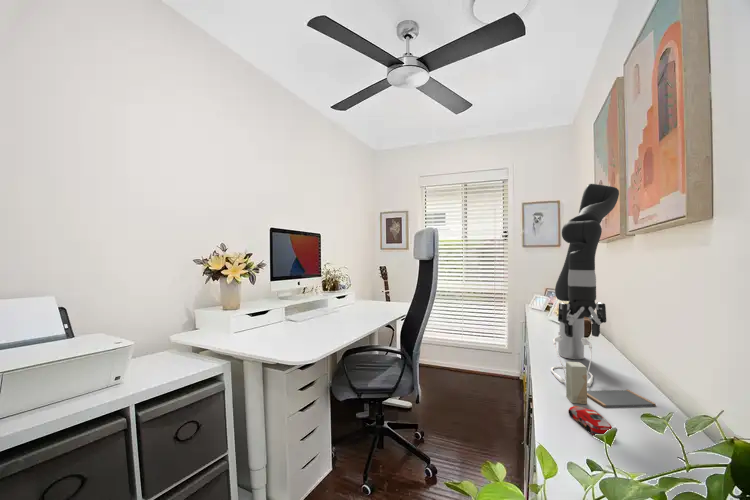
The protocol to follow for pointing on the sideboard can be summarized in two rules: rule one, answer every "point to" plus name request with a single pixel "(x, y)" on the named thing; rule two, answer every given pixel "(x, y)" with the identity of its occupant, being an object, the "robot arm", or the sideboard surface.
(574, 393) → the box
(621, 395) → the mat
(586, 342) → the earphone
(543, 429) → the sideboard surface
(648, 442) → the sideboard surface
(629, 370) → the sideboard surface
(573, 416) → the race car
